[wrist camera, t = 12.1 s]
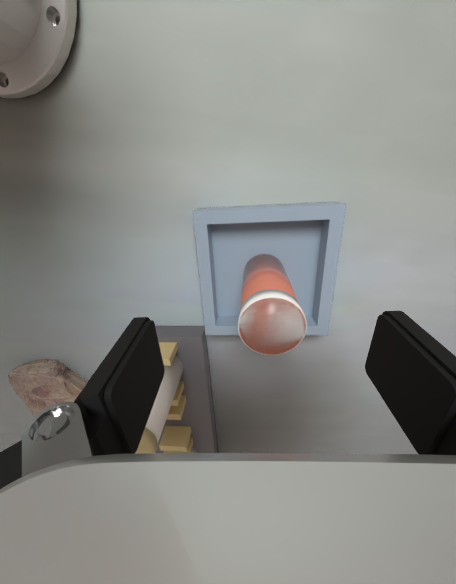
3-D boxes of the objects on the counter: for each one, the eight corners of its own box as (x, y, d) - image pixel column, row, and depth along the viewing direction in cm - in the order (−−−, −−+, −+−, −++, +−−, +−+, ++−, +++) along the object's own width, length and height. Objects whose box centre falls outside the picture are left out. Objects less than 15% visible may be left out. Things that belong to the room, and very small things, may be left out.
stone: (113, 357, 28) (100, 375, 26) (133, 426, 33) (124, 446, 31) (20, 356, 29) (-1, 373, 27) (53, 423, 34) (38, 443, 31)
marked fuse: (242, 253, 21) (236, 297, 13) (285, 252, 20) (309, 296, 12) (243, 293, 22) (238, 354, 14) (284, 292, 22) (304, 355, 14)
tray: (198, 208, 20) (192, 211, 18) (335, 201, 19) (346, 204, 17) (209, 321, 25) (205, 335, 22) (320, 321, 24) (327, 335, 21)
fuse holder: (130, 326, 26) (53, 419, 15) (204, 325, 25) (175, 423, 15) (162, 452, 34) (126, 566, 24) (218, 455, 33) (205, 573, 23)
